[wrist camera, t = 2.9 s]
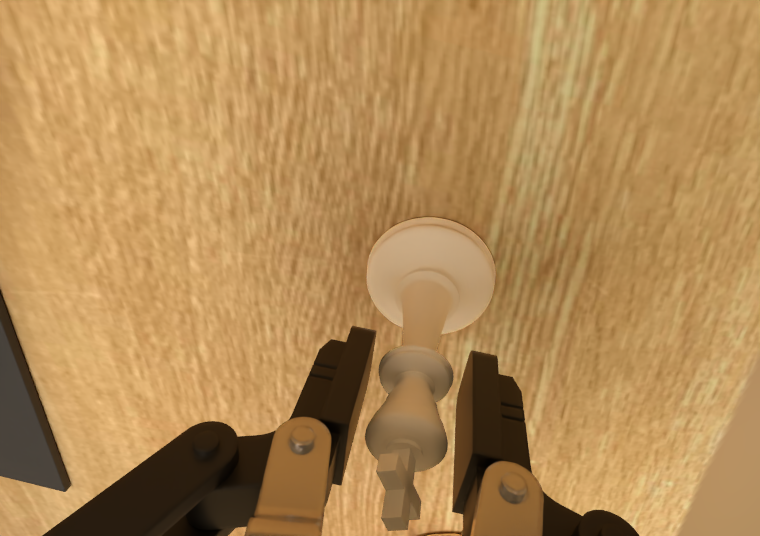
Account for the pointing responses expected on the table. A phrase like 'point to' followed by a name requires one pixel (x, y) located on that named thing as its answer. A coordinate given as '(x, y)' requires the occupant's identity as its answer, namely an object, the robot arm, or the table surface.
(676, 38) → the table surface
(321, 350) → the robot arm
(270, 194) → the table surface
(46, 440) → the mat
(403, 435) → the chess piece
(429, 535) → the mug
